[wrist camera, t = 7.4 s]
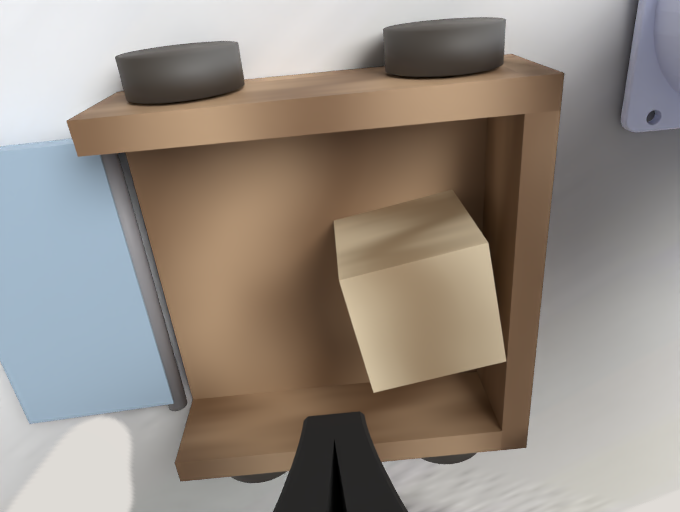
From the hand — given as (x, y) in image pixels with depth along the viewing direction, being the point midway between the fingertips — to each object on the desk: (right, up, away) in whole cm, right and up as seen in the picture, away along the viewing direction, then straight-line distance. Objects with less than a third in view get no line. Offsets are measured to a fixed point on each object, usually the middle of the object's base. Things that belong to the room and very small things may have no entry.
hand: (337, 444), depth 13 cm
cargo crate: (+3, +4, +8) cm, 10 cm away
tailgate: (-8, +3, +8) cm, 12 cm away
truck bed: (0, +4, +9) cm, 10 cm away
